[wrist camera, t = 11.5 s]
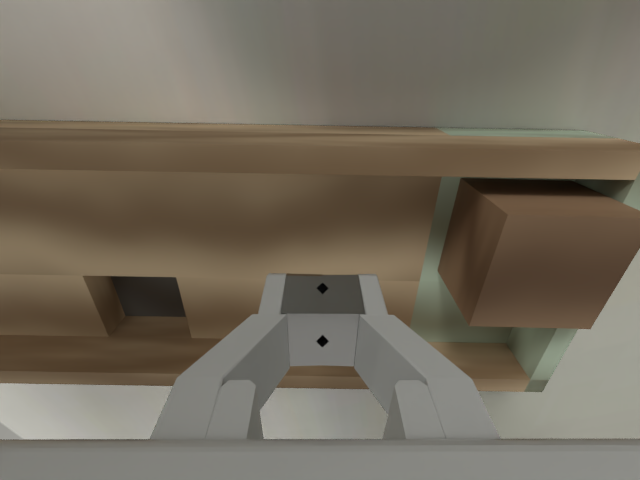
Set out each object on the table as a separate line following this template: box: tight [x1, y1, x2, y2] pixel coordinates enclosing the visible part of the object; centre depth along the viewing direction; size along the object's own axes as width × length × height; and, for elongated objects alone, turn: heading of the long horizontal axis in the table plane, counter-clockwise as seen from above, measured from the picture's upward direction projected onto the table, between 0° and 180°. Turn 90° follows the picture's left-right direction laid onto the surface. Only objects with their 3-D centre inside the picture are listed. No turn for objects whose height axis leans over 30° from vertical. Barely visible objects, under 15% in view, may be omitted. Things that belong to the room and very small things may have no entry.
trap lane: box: [0, 120, 640, 392], centre depth 16 cm, size 13×33×4 cm, turn 89°
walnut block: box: [437, 178, 640, 329], centre depth 13 cm, size 5×5×4 cm
